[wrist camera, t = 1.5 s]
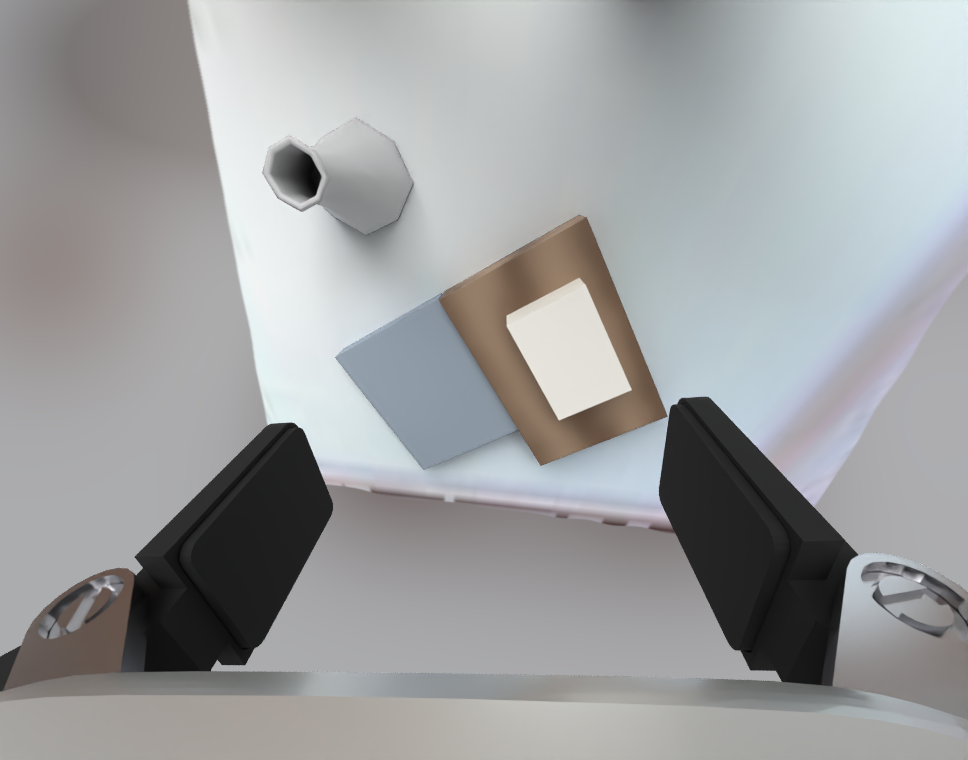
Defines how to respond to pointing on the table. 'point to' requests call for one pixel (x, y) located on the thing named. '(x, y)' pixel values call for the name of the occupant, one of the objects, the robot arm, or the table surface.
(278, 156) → the flask
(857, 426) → the table surface
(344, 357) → the mat
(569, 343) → the tile
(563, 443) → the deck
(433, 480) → the table surface
